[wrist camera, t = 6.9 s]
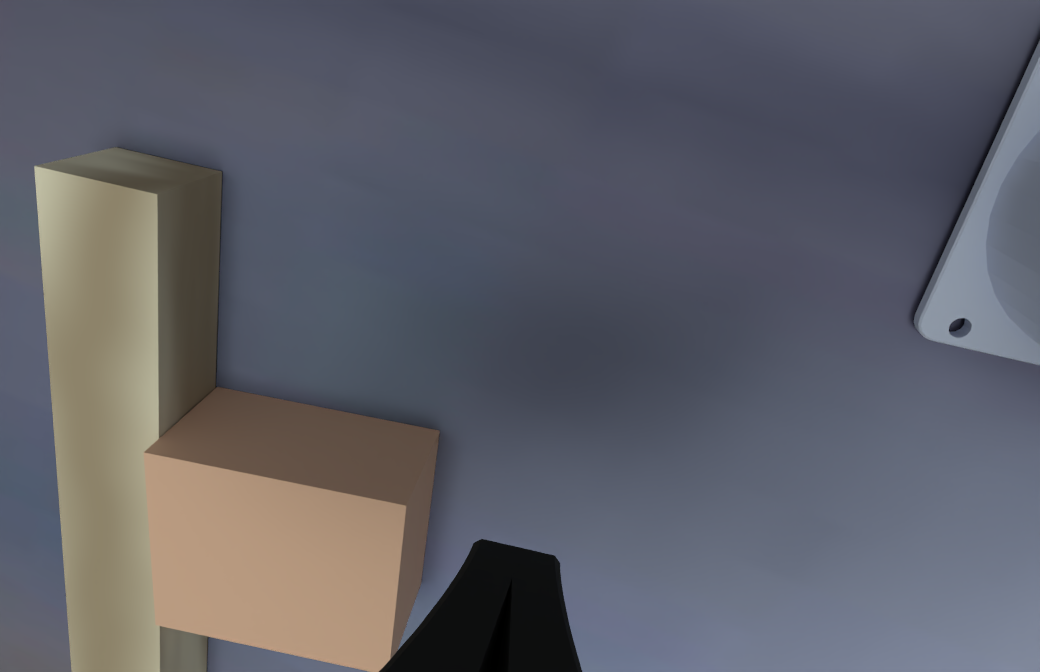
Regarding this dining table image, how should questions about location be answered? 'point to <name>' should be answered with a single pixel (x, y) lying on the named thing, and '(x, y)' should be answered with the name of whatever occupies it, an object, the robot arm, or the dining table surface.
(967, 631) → the dining table surface
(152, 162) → the birch board
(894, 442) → the dining table surface
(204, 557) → the tan rectangular block
